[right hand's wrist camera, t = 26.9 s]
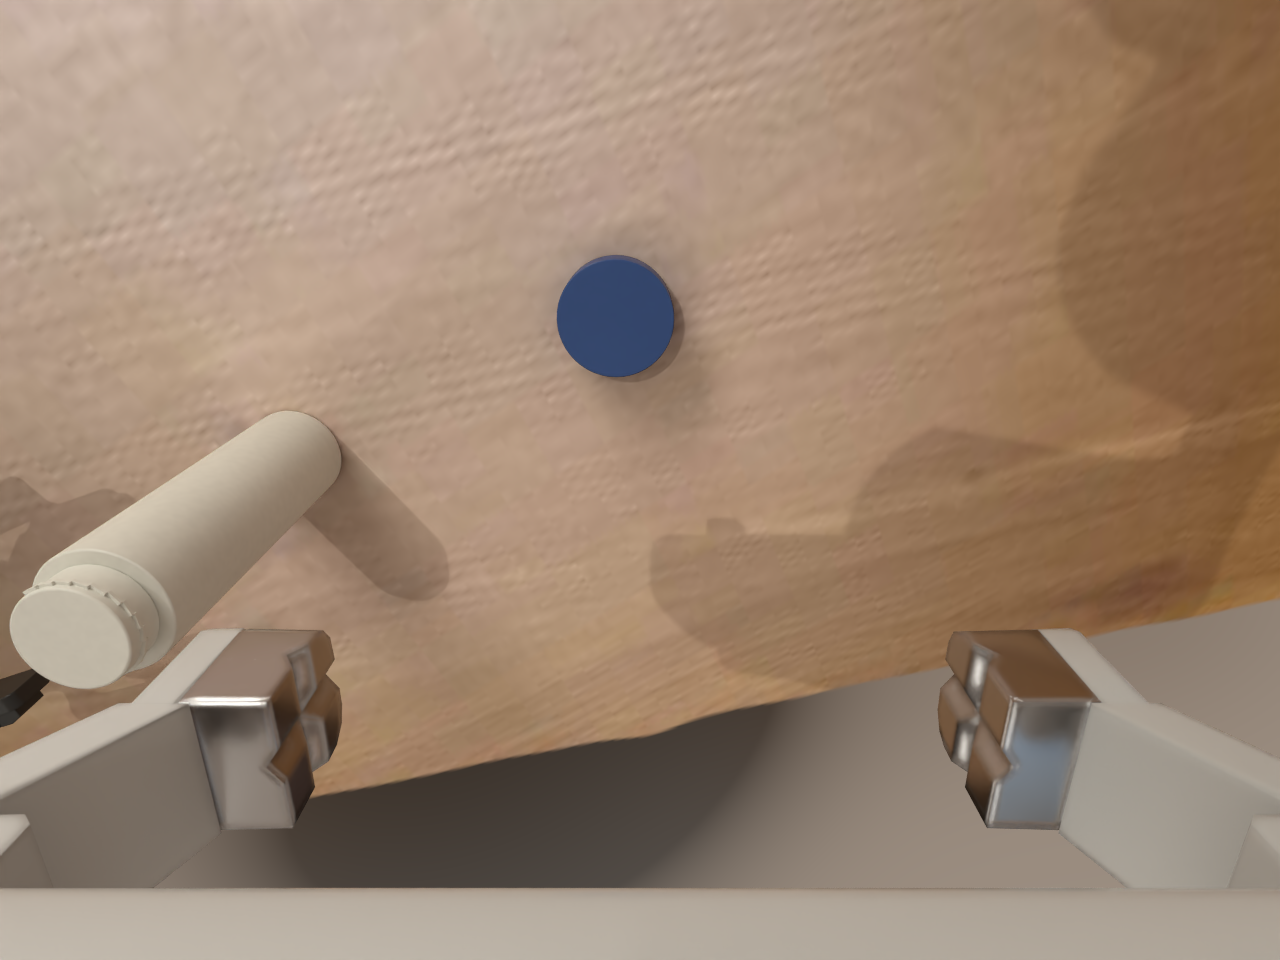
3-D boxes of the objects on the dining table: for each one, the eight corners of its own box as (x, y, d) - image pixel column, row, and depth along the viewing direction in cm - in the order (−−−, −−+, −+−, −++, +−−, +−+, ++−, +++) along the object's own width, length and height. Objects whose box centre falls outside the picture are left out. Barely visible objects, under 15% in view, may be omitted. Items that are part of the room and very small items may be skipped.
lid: (537, 313, 36) (532, 320, 35) (615, 230, 35) (614, 233, 33) (617, 389, 38) (616, 400, 36) (695, 312, 36) (698, 319, 35)
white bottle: (359, 472, 39) (178, 668, 24) (286, 510, 40) (63, 723, 25) (306, 394, 38) (76, 549, 22) (231, 435, 39) (-42, 612, 23)
